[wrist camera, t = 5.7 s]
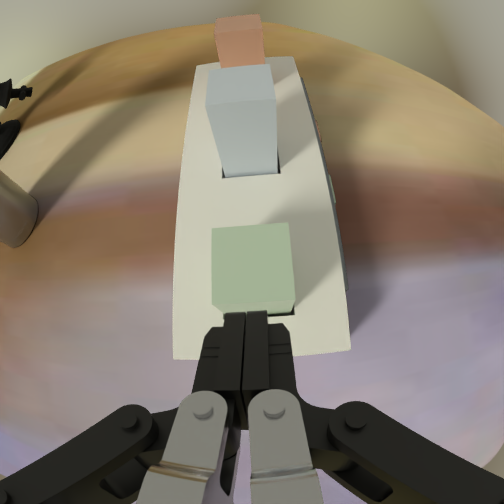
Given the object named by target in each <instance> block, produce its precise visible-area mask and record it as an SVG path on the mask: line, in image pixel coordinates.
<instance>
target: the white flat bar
mask: <svg viewBox="0 0 504 504" xmlns="http://www.w3.org/2000/svg"><path fill="white" fill-rule="evenodd" d="M265 64H270V68H271V74H272V79H273V84H274V90H275V96H276V115H277V168H278V174H268V175H255V176H243V177H233V178H225V174H224V171H223V167H222V164H221V160H220V157H219V154H218V150H217V147H216V143H215V140H214V136H213V133H212V129H211V126H210V122H209V119H208V115H207V111H206V108H205V100H206V91H207V82H208V74H209V70H213V69H221V66H220V62H216V63H209V64H203V65H197V66H196V72H195V77H194V82H193V88H192V94H191V100H190V106H189V112H188V119H187V126H186V133H185V140H184V148H183V156H182V165H181V174H180V184H179V195H178V206H177V219H176V234H175V252H174V276H173V359H183V360H199V358H200V353H201V349H202V344H203V340H204V336H205V335H206V334H207V333H208V331H209V330H210V329H211V328H212V327H223V324H224V318H225V314H224V313H223V312H221V311H220V310H219V309H217V308H216V307H215V306H213V305H212V281H211V239H212V228H222V227H234V226H247V225H260V224H273V223H288V225H289V234H290V244H291V254H292V265H293V276H294V287H295V299H296V300H295V302H294V305H293V307H292V310H291V313H290V315H289V316H277V317H268V324H275V323H283V324H284V325H285V327H286V328H287V329H288V330H289V332H290V338H291V346H292V354H293V356H303V355H313V354H322V353H331V352H339V351H347V350H351V345H350V333H349V322H348V312H347V303H346V294H345V292H346V291H347V290H348V281H347V274H346V267H345V260H344V254H343V247H342V241H341V235H340V229H339V224H338V218H337V213H336V208H335V204H336V200H335V195H334V190H333V186H332V181H331V177H330V175H328V170H327V166H326V162H325V157H324V153H323V149H322V145H321V136H320V132H319V128H318V125H317V121H316V120H315V119H314V115H313V112H312V108H311V105H310V101H309V98H308V95H307V91H306V88H305V85H304V82H303V79H302V78H300V76H299V73H298V70H297V67H296V64H295V61H294V58H293V56H287V57H265Z"/></svg>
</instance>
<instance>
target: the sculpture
mask: <svg viewBox="0 0 504 504" xmlns="http://www.w3.org/2000/svg"><path fill="white" fill-rule="evenodd" d="M31 95H32V87H30V88H27V87H26V86H25V85H23V86H22V87H21V88H19V89H12V81H11V79H9V80H8V81H6V82H4V83H0V106H3V107H4V108H5V109H6V108H7V106H8V104H9V102H10V99H11V98H18V97H19V100H24V99H25V97H31ZM19 129H20V123H19V121H18V120H10V121H7V122H5V123H3V124H2V125H1V122H0V159H1V158H2V157H3V156H4V154H5V153H6V152H7V151H8V149H9V148H10V146H11V145H12V143H13V142H14V140H15V138H16V136H17V134H18V132H19Z"/></svg>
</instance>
